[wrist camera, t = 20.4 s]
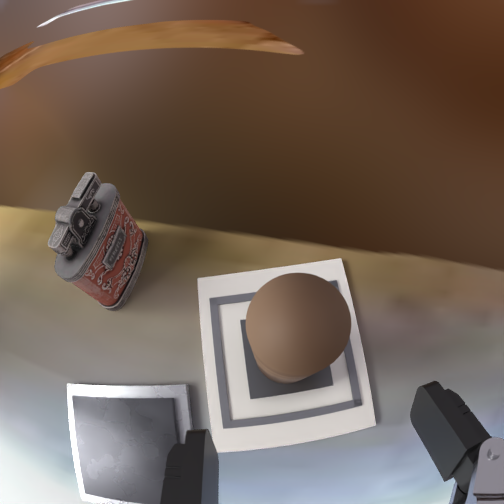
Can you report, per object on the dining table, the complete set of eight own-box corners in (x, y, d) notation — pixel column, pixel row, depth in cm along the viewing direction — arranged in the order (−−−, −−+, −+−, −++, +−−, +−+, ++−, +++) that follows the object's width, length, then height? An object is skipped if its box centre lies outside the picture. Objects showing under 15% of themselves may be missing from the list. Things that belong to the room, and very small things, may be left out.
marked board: (216, 451, 19) (214, 453, 18) (198, 280, 25) (196, 277, 24) (373, 424, 19) (376, 425, 18) (339, 261, 25) (341, 257, 25)
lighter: (124, 315, 24) (57, 267, 15) (94, 305, 24) (26, 255, 16) (155, 234, 27) (112, 162, 19) (126, 229, 28) (79, 160, 19)
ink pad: (86, 497, 16) (77, 501, 15) (71, 384, 21) (62, 382, 20) (206, 512, 16) (203, 518, 15) (188, 384, 21) (183, 383, 20)
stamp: (251, 398, 20) (236, 402, 10) (242, 326, 23) (221, 266, 13) (328, 386, 20) (379, 375, 10) (314, 315, 23) (349, 249, 13)
